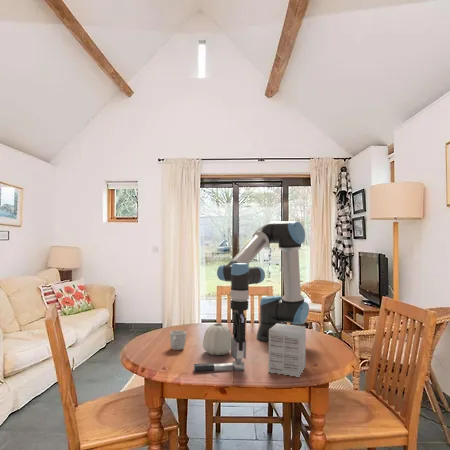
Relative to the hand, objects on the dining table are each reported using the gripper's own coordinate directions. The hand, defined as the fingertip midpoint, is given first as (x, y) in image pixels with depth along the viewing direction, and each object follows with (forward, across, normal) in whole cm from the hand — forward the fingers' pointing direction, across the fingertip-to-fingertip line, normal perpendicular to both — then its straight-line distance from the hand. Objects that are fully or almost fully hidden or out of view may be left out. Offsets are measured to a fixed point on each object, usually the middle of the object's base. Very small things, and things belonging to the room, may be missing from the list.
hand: (238, 355), depth 149 cm
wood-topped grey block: (0, 0, 0) cm, 0 cm away
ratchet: (+5, 0, -8) cm, 10 cm away
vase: (+6, -22, -5) cm, 23 cm away
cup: (+6, -30, -24) cm, 39 cm away
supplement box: (+6, +4, +20) cm, 21 cm away
